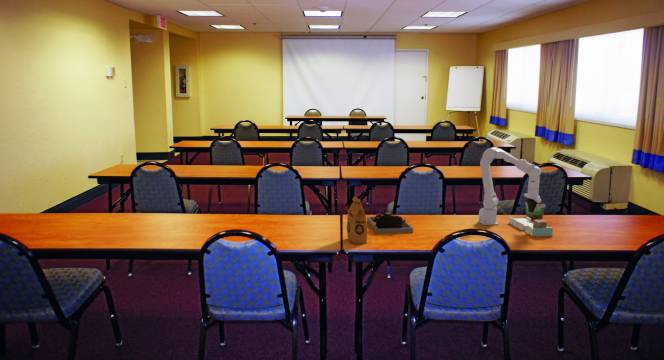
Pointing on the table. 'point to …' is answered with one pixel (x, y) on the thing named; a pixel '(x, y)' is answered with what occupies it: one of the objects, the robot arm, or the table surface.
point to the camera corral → (390, 230)
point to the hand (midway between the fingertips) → (531, 212)
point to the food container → (536, 212)
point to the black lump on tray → (388, 221)
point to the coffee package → (357, 223)
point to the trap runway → (530, 227)
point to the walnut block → (539, 224)
